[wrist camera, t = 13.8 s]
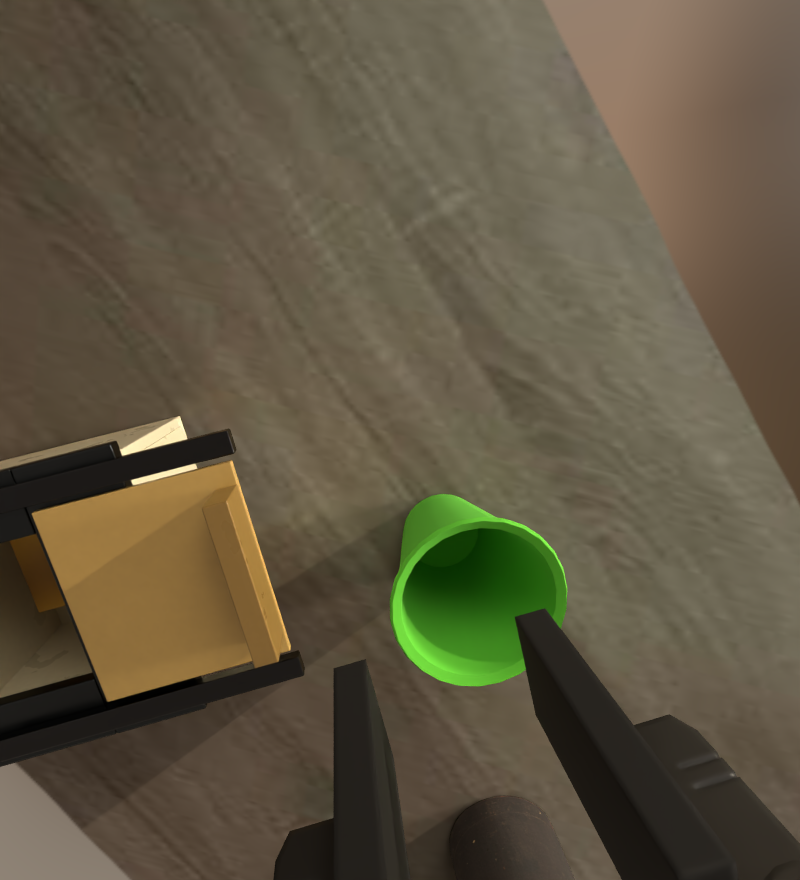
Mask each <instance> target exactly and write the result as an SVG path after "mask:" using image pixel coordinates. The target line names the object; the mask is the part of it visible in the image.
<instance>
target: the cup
mask: <svg viewBox="0 0 800 880" xmlns="http://www.w3.org/2000/svg"><path fill="white" fill-rule="evenodd" d="M566 605H567V584H566V579H565V575H564V570H563V567H562V565H561V563H560V561H559V559H558V557H557V555H556V553H555V551H554V550H553V549H552V548H551V547H550V546H549V545H548V543H547V542H546V541H545V540H544V539H543V538H542V537H541V536H540V535H538V534H537V533H535V532H534V531H532V530H531V529H529V528H527V527H526V526H524V525H522V524H519V523H516V522H513V521H510V520H507V519H504V518H496V517H494V516H493V515H491V514H489V513H487V512H485V511H483V510H482V509H480V508H478V507H476V506H474V505H473V504H471V503H469V502H467V501H465V500H463V499H462V498H460V497H456V496H453V495H447V494H440V495H434V496H431V497H428V498H426V499H424V500H422V501H421V502H420V503H418V504H417V505H416V506H415V507H414V508H413V509H412V510H411V511H410V513H409V515H408V517H407V519H406V521H405V525H404V529H403V538H402V548H401V558H400V568H399V572H398V574H397V575H396V577H395V580H394V584H393V588H392V592H391V596H390V621H391V625H392V628H393V632H394V635H395V638H396V641H397V642H398V644H399V645H400V647H401V649H402V650H403V652H404V654H405V655H406V657H407V658H409V659H410V660H411V661H412V662H413V663H414V664H415V665H416V666H417V667H418V668H419V669H420V670H422V671H424V672H425V673H427V674H429V675H431V676H433V677H434V678H436V679H438V680H440V681H444V682H448V683H451V684H455V685H459V686H484V685H489V684H494V683H499V682H502V681H504V680H507V679H509V678H511V677H514V676H516V675H518V674H520V673H522V672H523V671H524V670H526V667H525V663H524V658H523V653H522V649H521V644H520V640H519V635H518V630H517V626H516V621H515V617H516V616H519V615H523V614H526V613H530V612H533V611H537V610H540V609H544V608H545V609H546V610H547V611H548V613H549V614H550V615H551V617H552V618H553V619H554V621H555V622H556V623H557V625H558V626H559V627H560V629H561V625H562V622H563V619H564V615H565V612H566Z"/></svg>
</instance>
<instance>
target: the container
mask: <svg viewBox="0 0 800 880" xmlns="http://www.w3.org/2000/svg"><path fill="white" fill-rule="evenodd" d="M450 852H451V857H452V861H453V866H454V870H455V874H456V878H457V880H575V879H574V876H573V874H572V871H571V869H570V866H569V864H568V861H567V859H566V857H565V854H564V852H563V849H562V847H561V845H560V842H559V840H558V838H557V835H556V833H555V831H554V828H553V826H552V824H551V822H550V820H549V819H548V817H547V815H546V814H545V813H544V812H543V811H542V810H541V809H540V808H539V807H538V806H537V805H535V804H533V803H532V802H530V801H527V800H525V799H522V798H519V797H512V796H497V797H492V798H487V799H485V800H482V801H480V802H478V803H476V804H474V805H473V806H471V807H470V808H468V809H467V810H465V811H464V812H463V813H462V814H461V815H460V816H459V818H458V819H457V821H456V822H455V824H454V827H453V829H452V832H451V837H450Z"/></svg>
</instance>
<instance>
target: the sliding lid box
mask: <svg viewBox="0 0 800 880" xmlns="http://www.w3.org/2000/svg"><path fill="white" fill-rule="evenodd" d="M235 452H236V447H235V443H234V440H233V437H232V434H231V431H230V429H225V430H221V431H217V432H213V433H209V434H205V435H201V436H197V437H194V438H190V439H187V436H186V433H185V430H184V427H183V424H182V421H181V418H180V416H177V417H173V418H169V419H166V420H162V421H158V422H154V423H150V424H146V425H142V426H138V427H134V428H130V429H126V430H122V431H118V432H114V433H110V434H106V435H102V436H98V437H94V438H90V439H86V440H82V441H78V442H74V443H70V444H67V445H63V446H59V447H55V448H51V449H47V450H43V451H39V452H35V453H31V454H27V455H23V456H19V457H15V458H11V459H7V460H3V461H0V767H1V766H5V765H8V764H12V763H15V762H19V761H22V760H26V759H29V758H33V757H36V756H40V755H43V754H47V753H50V752H54V751H57V750H61V749H64V748H68V747H71V746H75V745H78V744H82V743H85V742H89V741H92V740H96V739H99V738H103V737H106V736H110V735H113V734H116V733H121V732H124V731H128V730H131V729H135V728H138V727H142V726H145V725H149V724H152V723H156V722H159V721H163V720H166V719H170V718H173V717H177V716H180V715H184V714H187V713H191V712H194V711H197V710H201V709H204V708H206V705H207V703H210V702H213V701H217V700H220V699H224V698H227V697H231V696H234V695H238V694H241V693H245V692H248V691H252V690H255V689H259V688H262V687H266V686H269V685H273V684H276V683H280V682H283V681H287V680H290V679H294V678H297V677H301V676H303V675H304V670H305V667H304V664H303V661H302V658H301V655H300V652H299V651H295V652H291V653H287V654H284V655H280V656H279V661H278V662H276V663H272V664H269V665H265V666H262V667H258V668H255V667H254V664H253V663H252V664H248V665H245V666H241V667H238V668H234V669H231V670H227V671H224V672H220V673H217V674H213V675H210V676H206V677H201V676H198V677H195V678H191V679H188V680H184V681H180V682H177V683H173V684H170V685H166V686H163V687H159V688H156V689H152V690H149V691H145V692H141V693H138V694H134V695H131V696H127V697H124V698H120V699H117V700H113V701H110V702H107V699H106V697H105V694H104V692H103V689H102V687H101V684H100V682H99V680H98V677H97V675H96V672H95V670H94V667H93V665H92V662H91V660H90V657H89V655H88V652H87V650H86V647H85V645H84V642H83V640H82V637H81V635H80V633H79V630H78V628H77V625H76V623H75V620H74V618H73V615H72V613H71V610H70V608H69V605H68V603H67V600H66V598H65V595H64V593H63V590H62V588H61V586H60V583H59V581H58V578H57V576H56V573H55V571H54V568H53V566H52V563H51V561H50V558H49V556H48V553H47V551H46V548H45V546H44V544H43V541H42V539H41V536H40V534H39V531H38V529H37V526H36V524H35V521H34V519H33V516H32V513H33V512H34V511H36V510H40V509H43V508H47V507H51V506H55V505H59V504H63V503H67V502H70V501H74V500H78V499H82V498H86V497H90V496H94V495H98V494H101V493H105V492H109V491H113V490H117V489H121V488H125V487H128V486H132V485H136V484H140V483H144V482H148V481H152V480H155V479H159V478H163V477H167V476H171V475H175V474H179V473H182V472H186V471H190V470H194V469H197V467H196V463H200V462H203V461H207V460H211V459H215V458H219V457H223V456H227V455H231V454H234V453H235ZM34 534H37V537H38V539H39V542H40V544H41V546H42V549H43V551H44V554H45V556H46V559H47V561H48V564H49V566H50V569H51V571H52V574H53V576H54V579H55V581H56V583H57V586H58V588H59V591H60V593H61V596H62V598H63V601H64V603H65V606H63V607H59V608H55V609H51V610H48V611H44V612H39V611H38V609H37V607H36V604H35V602H34V599H33V597H32V594H31V592H30V590H29V587H28V585H27V582H26V580H25V577H24V575H23V573H22V570H21V568H20V565H19V563H18V560H17V558H16V556H15V553H14V551H13V548H12V546H11V543H10V541H11V540H15V539H19V538H23V537H27V536H31V535H34Z"/></svg>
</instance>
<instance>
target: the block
mask: <svg viewBox="0 0 800 880" xmlns="http://www.w3.org/2000/svg"><path fill="white" fill-rule="evenodd" d="M10 543H11V546H12V548H13V551H14V553H15V556H16V558H17V560H18V563H19V565H20V568H21V570H22V573H23V575H24V577H25V580H26V582H27V585H28V587H29V590H30V592H31V594H32V597H33V599H34V602H35V604H36V607H37V609H38V611H39V612H44V611H48V610H51V609H55V608H59V607H63V606H65V603H64V601H63V598H62V596H61V593H60V591H59V588H58V586H57V583H56V581H55V579H54V576H53V574H52V571H51V569H50V566H49V564H48V561H47V559H46V556H45V554H44V551H43V549H42V546H41V544H40V542H39V539H38V537H37V534H34V535H31V536H27V537H23V538H19V539H15V540H11V541H10Z"/></svg>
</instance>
